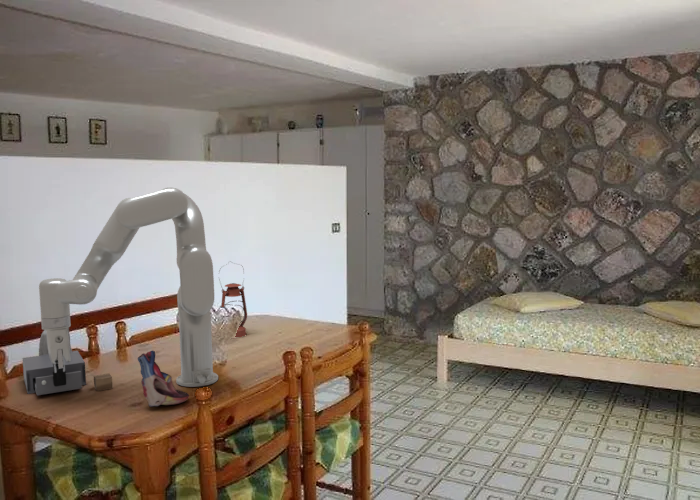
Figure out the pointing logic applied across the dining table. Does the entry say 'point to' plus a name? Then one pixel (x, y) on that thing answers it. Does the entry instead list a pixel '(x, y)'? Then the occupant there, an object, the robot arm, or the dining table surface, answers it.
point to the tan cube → (103, 382)
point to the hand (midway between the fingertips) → (60, 384)
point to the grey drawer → (47, 386)
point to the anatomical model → (158, 383)
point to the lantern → (233, 292)
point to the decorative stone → (43, 343)
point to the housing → (49, 368)
